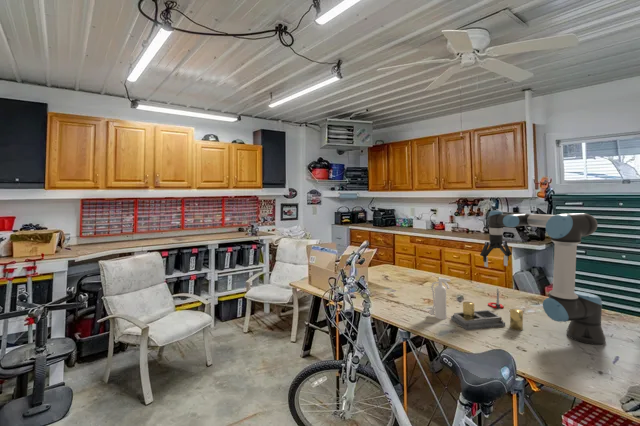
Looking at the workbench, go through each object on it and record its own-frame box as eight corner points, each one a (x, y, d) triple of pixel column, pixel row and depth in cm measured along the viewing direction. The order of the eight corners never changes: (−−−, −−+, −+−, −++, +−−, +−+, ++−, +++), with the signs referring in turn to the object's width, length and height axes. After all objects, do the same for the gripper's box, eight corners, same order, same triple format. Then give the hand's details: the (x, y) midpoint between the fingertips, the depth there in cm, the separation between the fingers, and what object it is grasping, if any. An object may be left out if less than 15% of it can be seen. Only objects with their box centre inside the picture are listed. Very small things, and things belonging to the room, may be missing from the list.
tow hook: (486, 303, 210) (491, 308, 201) (485, 285, 210) (491, 288, 200) (499, 304, 209) (505, 308, 199) (499, 285, 208) (505, 289, 199)
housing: (505, 326, 174) (505, 305, 174) (466, 330, 171) (466, 309, 170) (487, 315, 189) (487, 296, 188) (451, 319, 186) (451, 299, 185)
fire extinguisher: (429, 313, 196) (430, 275, 193) (449, 316, 190) (451, 277, 188) (427, 317, 190) (428, 278, 187) (448, 321, 184) (450, 280, 182)
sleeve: (525, 329, 169) (525, 312, 168) (515, 330, 168) (515, 313, 167) (517, 325, 175) (517, 308, 174) (507, 326, 174) (507, 309, 173)
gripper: (509, 232, 205) (509, 263, 206) (474, 234, 203) (474, 265, 204) (518, 233, 198) (517, 266, 199) (481, 235, 196) (481, 268, 197)
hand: (495, 266), depth 202 cm, fingers open, 13 cm apart
